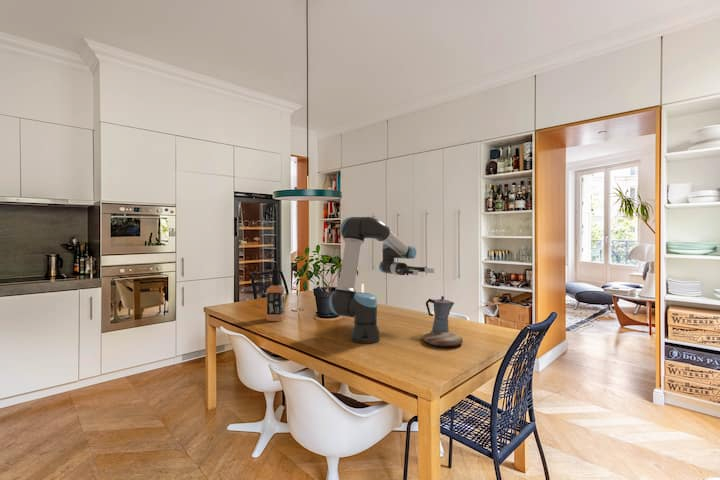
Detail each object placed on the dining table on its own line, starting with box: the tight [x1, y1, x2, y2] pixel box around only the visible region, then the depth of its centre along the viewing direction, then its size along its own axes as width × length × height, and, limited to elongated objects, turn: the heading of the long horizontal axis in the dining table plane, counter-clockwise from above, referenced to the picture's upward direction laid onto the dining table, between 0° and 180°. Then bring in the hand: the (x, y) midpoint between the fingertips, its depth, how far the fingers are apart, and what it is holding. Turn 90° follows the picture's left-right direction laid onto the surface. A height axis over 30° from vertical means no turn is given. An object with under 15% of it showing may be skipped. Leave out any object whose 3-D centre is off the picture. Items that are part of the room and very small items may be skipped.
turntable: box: [423, 331, 463, 347], centre depth 187 cm, size 19×19×1 cm
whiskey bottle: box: [265, 268, 286, 322], centre depth 235 cm, size 10×10×32 cm
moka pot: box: [425, 295, 455, 333], centre depth 206 cm, size 10×15×20 cm, turn 78°
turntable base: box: [430, 344, 457, 348], centre depth 187 cm, size 14×14×1 cm
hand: (426, 271), depth 214 cm, fingers open, 13 cm apart
